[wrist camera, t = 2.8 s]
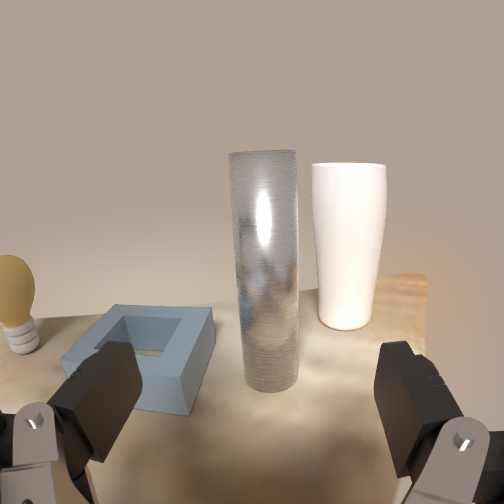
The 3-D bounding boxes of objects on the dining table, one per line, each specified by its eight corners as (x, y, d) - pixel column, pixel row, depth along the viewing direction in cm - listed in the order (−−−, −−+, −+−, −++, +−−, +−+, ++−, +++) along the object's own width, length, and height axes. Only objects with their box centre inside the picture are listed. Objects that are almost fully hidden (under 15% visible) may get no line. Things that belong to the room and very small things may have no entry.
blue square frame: (75, 395, 20) (59, 359, 19) (122, 335, 29) (115, 304, 28) (189, 415, 19) (179, 377, 18) (215, 341, 28) (211, 307, 27)
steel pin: (241, 392, 21) (222, 153, 16) (247, 360, 25) (233, 153, 20) (298, 392, 21) (297, 149, 16) (296, 360, 24) (294, 151, 20)
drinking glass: (368, 303, 33) (374, 163, 29) (385, 334, 26) (398, 165, 22) (308, 305, 34) (307, 163, 29) (313, 339, 27) (314, 164, 23)
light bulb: (-7, 360, 22) (-40, 268, 19) (21, 331, 28) (-2, 249, 25) (33, 368, 22) (-1, 266, 19) (62, 335, 28) (38, 245, 26)
